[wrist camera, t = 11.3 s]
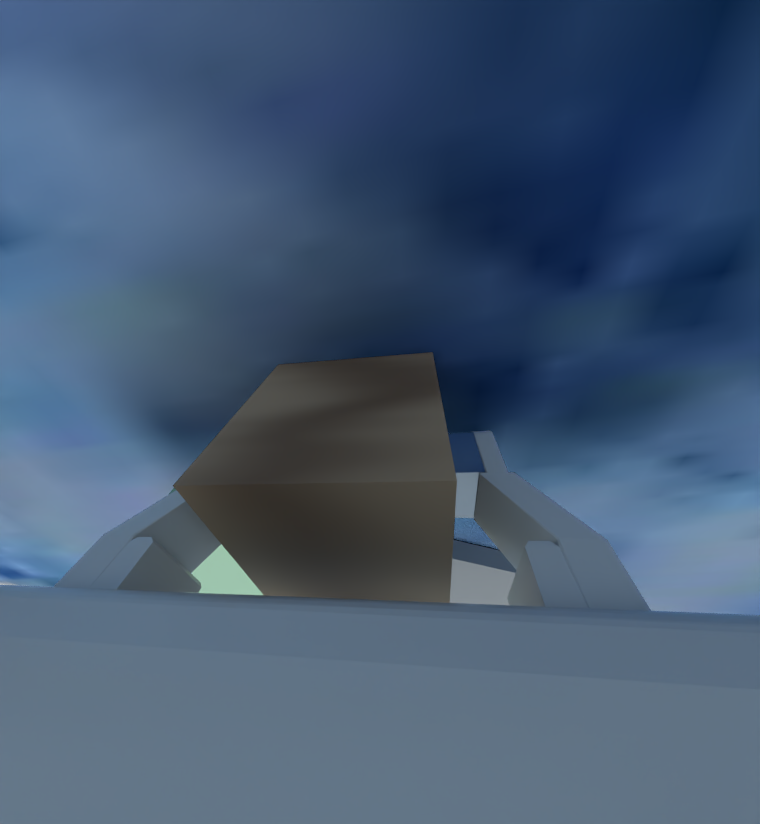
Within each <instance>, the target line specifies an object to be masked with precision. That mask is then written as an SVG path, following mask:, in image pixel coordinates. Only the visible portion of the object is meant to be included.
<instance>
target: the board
mask: <svg viewBox="0 0 760 824" xmlns="http://www.w3.org/2000/svg"><path fill="white" fill-rule="evenodd" d="M174 491H176V489H175V488H174V489H173V490H172V491H171V492H170V493H169V494H171V493H173V492H174ZM516 571H517V570H516V569H515V568H514V567H513V565H512V564H511V563H510V562H509V561H508V559H507V558H506V557H505V556H504V555H503V553H502V552H501V551H499V550H495V549H491V548H487V547H482V546H478V545H474V544H469V543H465V542H461V541H457V540H453V556H452V573H451V589H450V603H466V604H491V605H509V603H508V599H507V597H508V594H509V591H510V589H511V586H512V583H513V580H514V577H515V574H516ZM192 575H193V576H194V577H196V578H197V579H198V580H199V581H200V582H201V589H200V591H199V593H217V594H243V595H263V594H262V592H261V591H260V590H259V589H258V588H257V586H256V585H255V584H254V583H253V582H252V580H251V579H250V578H249V577H248V576H247V574H246V573H245V572H244V571H243V570H242V568H241V567H240V566H239V565H238V564H237V562H236V561H235V560H234V559H233V558H232V556H231V555H230V554H229V553H228V552H227V550H226V549H225V548H224V547H223V545H222V544H221V545H220V546H219V547H218V548H217V549H216V550H215V551H214V552H213V553H211V554H210V555H209V556H208V557H207V558H206V559H205V560H204V561H203V562H202V563H201V564H200V565H199V566H198V567H197V568H196V569H195V570H194V571H193V572H192Z"/></svg>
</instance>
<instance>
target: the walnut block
mask: <svg viewBox="0 0 760 824" xmlns="http://www.w3.org/2000/svg"><path fill="white" fill-rule="evenodd" d="M173 486H174V488H175V489H176V490H177V491H178V492H179V494H180V495H181V496H182V497H183V499H184V500H185V501H186V502H187V503H188V505H189V506H190V507H191V508H192V509H193V511H194V512H195V513H196V514H197V515H198V517H199V518H200V519H201V520H202V521H203V523H204V524H205V525H206V526H207V527H208V529H209V530H210V531H211V532H212V533H213V535H214V536H215V537H216V538H217V539H218V541H219V542H220V543H221V544H222V545H223V547H224V548H225V549H226V550H227V552H228V553H229V554H230V555H231V556H232V558H233V559H234V560H235V561H236V562H237V564H238V565H239V566H240V567H241V568H242V570H243V571H244V572H245V573H246V574H247V576H248V577H249V578H250V579H251V580H252V582H253V583H254V584H255V585H256V586H257V588H258V589H259V590H260V591H261V592H262V594H263V595H267V596H292V597H317V598H342V599H367V600H392V601H417V602H441V603H450V589H451V573H452V556H453V539H454V522H455V505H456V489H457V478H456V473H455V468H454V462H453V457H452V452H451V447H450V441H449V436H448V431H447V426H446V420H445V415H444V410H443V404H442V399H441V394H440V389H439V383H438V378H437V373H436V368H435V362H434V357H433V352H430V353H417V354H405V355H392V356H380V357H367V358H355V359H342V360H329V361H317V362H304V363H292V364H279V365H277V367H276V368H275V369H274V370H273V371H272V372H271V373H270V375H269V376H268V377H267V378H266V379H265V380H264V382H263V383H262V384H261V385H260V386H259V387H258V388H257V390H256V391H255V392H254V393H253V394H252V395H251V396H250V398H249V399H248V400H247V401H246V402H245V403H244V405H243V406H242V407H241V408H240V409H239V410H238V411H237V413H236V414H235V415H234V416H233V417H232V418H231V419H230V421H229V422H228V423H227V424H226V425H225V426H224V428H223V429H222V430H221V431H220V432H219V433H218V434H217V436H216V437H215V438H214V439H213V440H212V441H211V443H210V444H209V445H208V446H207V447H206V448H205V449H204V451H203V452H202V453H201V454H200V455H199V456H198V457H197V459H196V460H195V461H194V462H193V463H192V464H191V466H190V467H189V468H188V469H187V470H186V471H185V472H184V474H183V475H182V476H181V477H180V478H179V479H178V480H177V482H176V483H175V484H174V485H173Z"/></svg>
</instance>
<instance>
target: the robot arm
mask: <svg viewBox="0 0 760 824" xmlns="http://www.w3.org/2000/svg"><path fill="white" fill-rule="evenodd" d="M448 436H449V441H450V447H451V452H452V457H453V462H454V468H455V473H456V478H457V489H456V505H455V518H474V520H475V521H476V522H477V523H478V525H479V526H480V527H481V528H482V529H483V531H484V532H485V533H486V534H487V535H488V537H489V538H490V539H491V540H492V541H493V543H494V544H495V545H496V546H497V547H498V549H499V550H500V551H501V552H502V553H503V555H504V556H505V557H506V558H507V559H508V561H509V562H510V563H511V564H512V565H513V567H514V568H515V569H516V570H517V571H516V574H515V577H514V580H513V583H512V586H511V589H510V591H509V594H508V597H507V599H508V603H509V605H491V604H466V603H441V602H417V601H392V600H367V599H342V598H317V597H292V596H267V595H243V594H217V593H199V591H200V589H201V582H200V581H199V580H198V579H197V578H196V577H194V576H193V575H192V574H191V573H192V572H193V571H194V570H195V569H196V568H197V567H198V566H199V565H200V564H201V563H202V562H203V561H204V560H205V559H206V558H207V557H208V556H209V555H210V554H211V553H213V552H214V551H215V550H216V549H217V548H218V547H219V546H220V545H221V543H220V542H219V541H218V539H217V538H216V537H215V536H214V535H213V533H212V532H211V531H210V530H209V529H208V527H207V526H206V525H205V524H204V523H203V521H202V520H201V519H200V518H199V517H198V515H197V514H196V513H195V512H194V511H193V509H192V508H191V507H190V506H189V505H188V503H187V502H186V501H185V500H184V499H183V497H182V496H181V495H180V494H179V492H178V491H177V490H176V491H174V492H173V493H171V494H169V495H168V496H166V497H164V498H163V499H161V500H159V501H158V502H156V503H155V504H153V505H151V506H150V507H148V508H146V509H145V510H143V511H141V512H140V513H138V514H137V515H135V516H133V517H132V518H130V519H128V520H127V521H125V522H124V523H122V524H120V525H119V526H117V527H115V528H114V529H112V530H110V531H109V532H107V533H106V534H104V535H103V536H102V537H101V538H100V539H99V540H98V541H97V542H96V543H95V544H94V545H93V546H92V547H91V548H90V549H89V550H88V551H87V552H86V553H85V554H84V556H83V557H82V558H81V559H80V560H79V561H78V562H77V563H76V564H75V565H74V566H73V567H72V568H71V569H70V570H69V571H68V572H67V573H66V574H65V575H64V576H63V577H62V579H61V580H60V581H59V582H58V583H57V584H56V585H55V586H54V587H40V586H15V585H0V824H760V615H742V614H717V613H692V612H667V611H651V610H650V608H649V606H648V605H647V603H646V602H645V600H644V598H643V597H642V595H641V594H640V592H639V590H638V589H637V587H636V586H635V584H634V582H633V581H632V579H631V577H630V576H629V574H628V573H627V571H626V569H625V568H624V566H623V565H622V563H621V561H620V560H619V558H618V556H617V555H616V553H615V552H614V550H613V548H612V547H611V545H610V544H609V542H608V540H607V539H605V538H604V537H602V536H601V535H600V534H598V533H597V532H596V531H594V530H593V529H591V528H590V527H589V526H587V525H586V524H585V523H583V522H582V521H580V520H579V519H578V518H576V517H575V516H574V515H572V514H571V513H569V512H568V511H567V510H565V509H564V508H563V507H561V506H560V505H558V504H557V503H556V502H554V501H553V500H552V499H550V498H549V497H547V496H546V495H545V494H543V493H542V492H541V491H539V490H538V489H536V488H535V487H534V486H532V485H531V484H530V483H528V482H527V481H526V480H524V479H523V478H521V477H520V476H519V475H517V474H516V473H514V472H510V473H509V472H508V470H507V467H506V465H505V462H504V460H503V457H502V455H501V453H500V450H499V448H498V445H497V443H496V440H495V438H494V435H493V433H492V432H491V431H474V432H462V433H448Z"/></svg>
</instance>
